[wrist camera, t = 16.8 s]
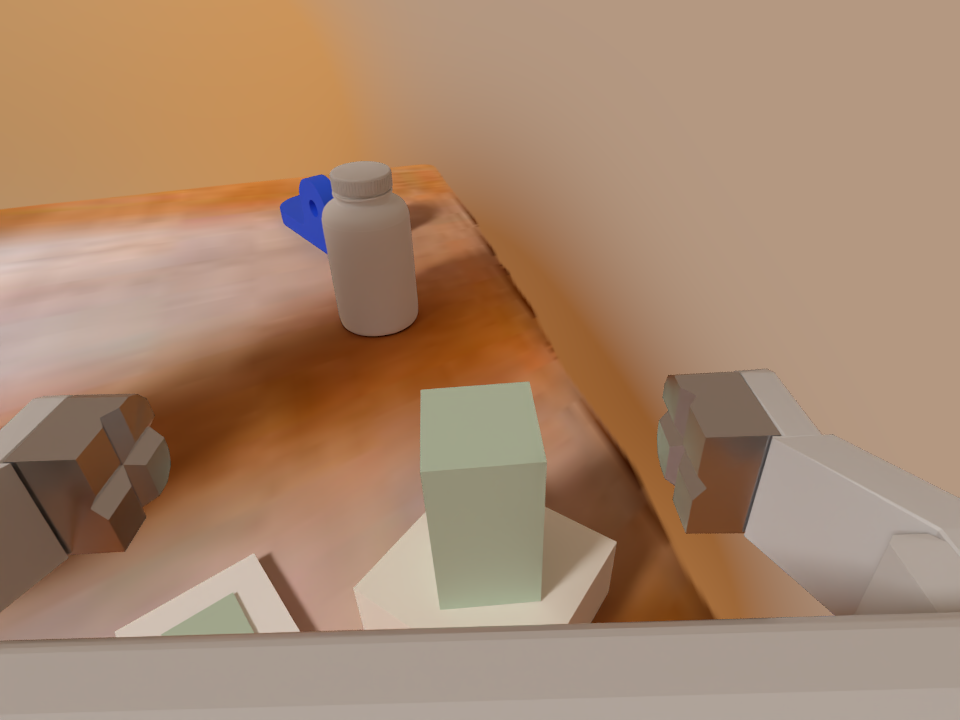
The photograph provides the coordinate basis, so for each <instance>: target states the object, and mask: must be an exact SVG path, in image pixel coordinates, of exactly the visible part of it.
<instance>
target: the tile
mask: <svg viewBox="0 0 960 720" xmlns="http://www.w3.org/2000/svg"><path fill="white" fill-rule="evenodd" d="M275 632H300V631H299V629H298V627H297V626H296V624H295V622H294V621H293V619H292V617H291V616H290V614H289V612H288V610H287V609H286V607H285V605H284V604H283V602H282V600H281V599H280V597H279V595H278V593H277V592H276V590H275V588H274V587H273V585H272V583H271V581H270V580H269V578H268V576H267V575H266V573H265V571H264V570H263V568H262V566H261V564H260V563H259V561H258V559H257V558H256V556H255V554H254V553H253V554H252V555H250V556H248V557H246V558H245V559H243V560H241V561H239V562H237V563H236V564H234V565H232V566H230V567H229V568H227V569H225V570H223V571H221V572H220V573H218V574H216V575H214V576H213V577H211V578H209V579H207V580H206V581H204V582H202V583H200V584H198V585H197V586H195V587H193V588H191V589H190V590H188V591H186V592H184V593H182V594H181V595H179V596H177V597H175V598H174V599H172V600H170V601H168V602H167V603H165V604H163V605H161V606H159V607H158V608H156V609H154V610H152V611H151V612H149V613H147V614H145V615H143V616H142V617H140V618H138V619H136V620H135V621H133V622H131V623H129V624H128V625H126V626H124V627H122V628H120V629H119V630H117V631H115V635H116V637H142V636H176V635H209V634H242V633H275Z"/></svg>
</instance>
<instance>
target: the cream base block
mask: <svg viewBox="0 0 960 720" xmlns="http://www.w3.org/2000/svg"><path fill="white" fill-rule="evenodd" d="M616 545H617V542H616V541H614V540H612V539H610V538H608V537H606V536H604V535H602V534H600V533H598V532H596V531H594V530H592V529H590V528H588V527H586V526H584V525H582V524H580V523H578V522H576V521H574V520H571V519H569V518H567V517H565V516H563V515H561V514H559V513H557V512H555V511H553V510H551V509H549V508H547V507H545V516H544V539H543V562H542V585H541V601H535V602H524V603H513V604H502V605H490V606H479V607H468V608H457V609H445V610H440V606H439V599H438V592H437V585H436V578H435V572H434V565H433V558H432V551H431V544H430V537H429V530H428V523H427V517H426V512H425V513H424V514H423V515H422V516H421V517H420V518H419V519H418V520H417V521H416V522H415V524H414V525H413V526H412V527H411V528H410V529H409V530H408V531H407V532H406V533H405V534H404V535H403V536H402V537H401V538H400V539H399V540H398V541H397V543H396V544H395V545H394V546H393V547H392V548H391V549H390V550H389V551H388V552H387V553H386V554H385V555H384V556H383V557H382V558H381V559H380V560H379V562H378V563H377V564H376V565H375V566H374V567H373V568H372V569H371V570H370V571H369V572H368V573H367V574H366V575H365V576H364V577H363V578H362V579H361V581H360V582H359V583H358V584H357V585H356V586H355V587H354V588H353V589H354V593H355V597H356V601H357V605H358V609H359V612H360V616H361V620H362V624H363V628H364V630H375V629H408V628H442V627H477V626H511V625H546V624H581V623H591V622H592V620H593V618H594V617H595V615H596V613H597V611H598V610H599V608H600V606H601V604H602V603H603V601H604V599H605V597H606V596H607V594H608V592H609V587H610V581H611V575H612V569H613V563H614V557H615V551H616Z"/></svg>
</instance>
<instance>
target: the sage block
mask: <svg viewBox="0 0 960 720" xmlns="http://www.w3.org/2000/svg"><path fill="white" fill-rule="evenodd" d="M546 469H547V460H546V456H545V451H544V447H543V442H542V438H541V433H540V428H539V424H538V419H537V415H536V410H535V405H534V401H533V396H532V392H531V387H530V383H529V382H518V383H505V384H492V385H479V386H465V387H452V388H439V389H426V390H421V419H420V475H421V482H422V489H423V496H424V503H425V510H426V517H427V523H428V530H429V537H430V544H431V551H432V558H433V565H434V572H435V578H436V585H437V592H438V599H439V606H440V610H445V609H457V608H468V607H479V606H490V605H502V604H513V603H524V602H535V601H541V585H542V562H543V539H544V516H545V492H546Z"/></svg>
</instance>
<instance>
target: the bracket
mask: <svg viewBox="0 0 960 720" xmlns="http://www.w3.org/2000/svg"><path fill="white" fill-rule="evenodd" d="M299 194H300V195H298V196H295V197H292V198H290V199H288V200H286V201H284V202H283V203H282V204H281V206H280V210H281V215H282V219H283V223H284V224H285V225H286V226H288V227H289V228H290V229H292V230H293V231H295V232H296V233H298V234H299V235H300V236H302V237H303V238H305V239H306V240H308V241H309V242H311V243H312V244H313V245H315V246H316V247H318V248H319V249H321V250H322V251H324V252H325V253H326V254H328V253H327V248H326V242H325V237H324V232H323V226H322V212H323V209H324V207H325V206H326V204H327V203H328V202H329V201H330V200H332V199H333V198H334V197H333V196H332V187H331V181H330V180H329V179H328V178H327V177H326V176H324V175H317V176H313V177H309V178H305V179H302V180H301V182H300V186H299Z"/></svg>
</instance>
